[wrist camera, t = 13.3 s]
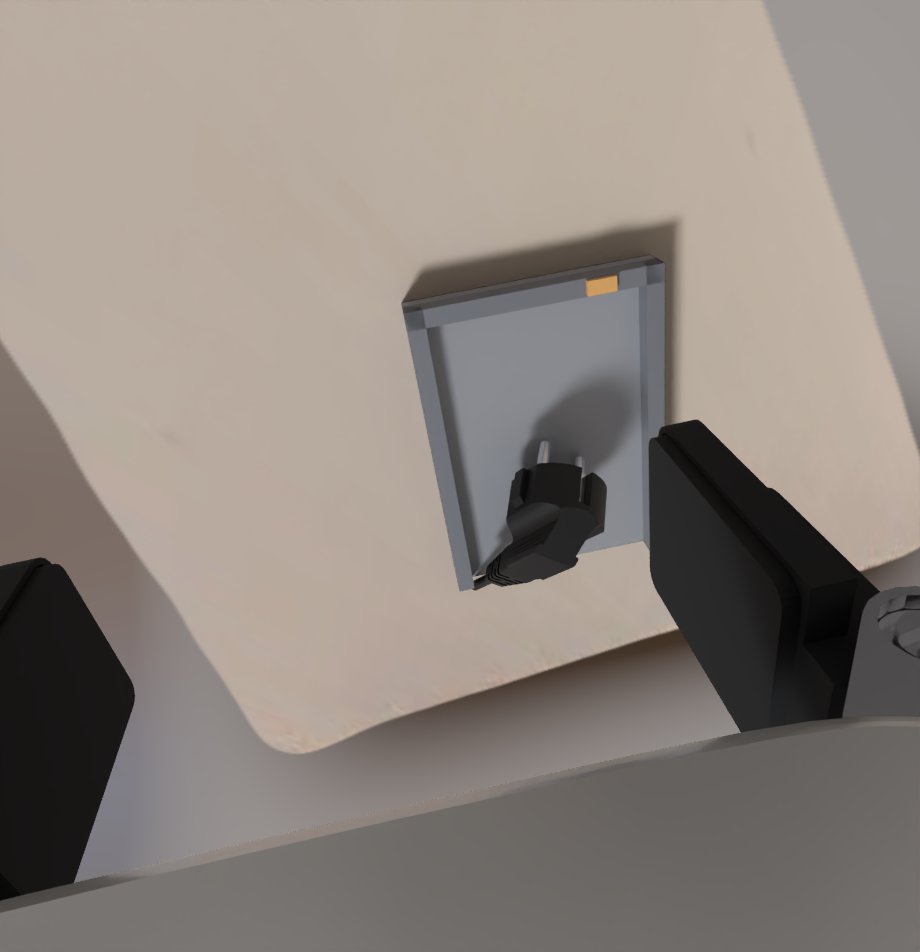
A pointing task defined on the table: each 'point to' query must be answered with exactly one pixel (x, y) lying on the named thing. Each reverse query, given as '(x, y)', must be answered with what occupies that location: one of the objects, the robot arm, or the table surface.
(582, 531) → the power plug
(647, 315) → the dock
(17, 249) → the table surface
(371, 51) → the table surface
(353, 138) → the table surface
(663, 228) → the table surface
